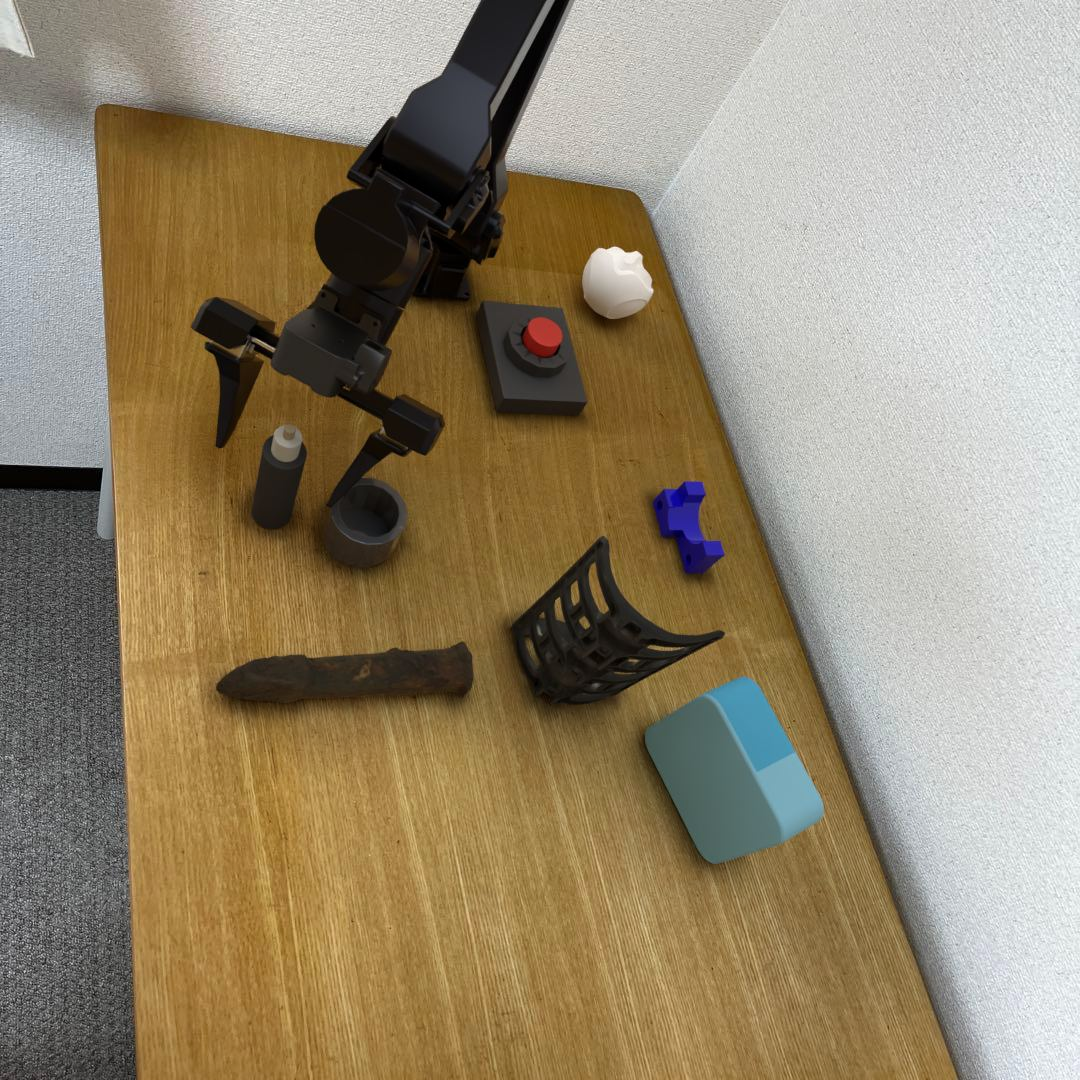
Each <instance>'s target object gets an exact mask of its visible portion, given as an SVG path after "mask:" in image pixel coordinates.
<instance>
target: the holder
mask: <svg viewBox="0 0 1080 1080" xmlns="http://www.w3.org/2000/svg"><path fill="white" fill-rule="evenodd" d="M610 549H611V546H610V540H609V539H608V538H607V537H606V536H605V535H601V536H599V537H598V538H597V539H596V540H595V542H593V543H592V544H591V546H589V548H588V549H587V550H586V551H585V552H584V553H583V554H582V555H581V556H580V557H579V558H578V559H577V560H576V561H575V562H574V563H573V564H572V565H571V566H570V567H569V568H568V569H567V570H566V571H565V572H564V573H563V574H562V576H560V577H559V578H558V579H557V580H556V581H555V582H554V583H553V584H552V585H551V586H550V587H549V588H548V589H547V590H546V591H545V592H544V593H543V594H541V596H540V597H539V598H538V599H537V600H536V601H535V602H534V603H533V604H532V605H530V607H528V608H527V609H526V611H524V612H523V613H522V614H521V615H520V616H519V617H518V618H517V619H516V620H515V621H514V622H512V624H511V625H510V627H509V628H510V630H511V632H512V635H513V640H514V641H513V643H514V648H515V649H514V650H515V653H516V656H517V660H518V662H519V665H520V667H521V669H522V672H523V673H524V675H525V677H526V678H527V680H528V681H529V683H530V684H531V691H532V693H533V697H534V698H538V696H539V695H541V694H542V693H545V694H546V695H548V696H549V700H548V702H547V705H548V707H552V706H556V705H559V704H564V705H565V704H566V705H569V706H576V705H577V706H581V705H582V706H583V705H590V704H593V703H597V702H599V701H602V700H604V699H607V698H608V697H610V696H617V695H619V694H620V693H622V692H624V691H626V690H627V689H629V688H631V687H633V686H635V685H636V684H638V683H640V682H641V681H643V680H646V679H647V678H649V677H651V676H653V675H654V674H657V673H659V672H660V671H662V670H664V669H666V668H669V667H670V666H672V665H674V664H676V663H678V662H680V661H682V660H683V659H685V658H687V657H689V656H691V655H693V654H695V653H697V652H698V651H701V650H702V649H704V648H706V647H709V646H710V645H712V644H714V643H717V642H718V641H720V640H722V639H723V638H724V637H725V635H726V632H725V631H724V630H721V629H716V630H713V631H709V632H706V633H703V634H702V633H701V634H680V633H679V634H678V633H674V632H670V631H669V630H666V629H664V628H662V627H660V626H658V625H657V624H656V623H654V622H653V621H651V620H649V619H648V618H646V617H645V616H644V615H642V613H640V612H639V611H638V610H637V609H636V608H635V607H634V606H633V605H632V604H631V603H630V602H629V601H628V600H627V599H626V598H625V596H624V595H623V593H622V592H621V590H620V588H619V586H618V584H617V582H616V579H615V577H614V574H613V571H612V565H611V556H610V555H611V553H610V552H611V551H610ZM592 565H595V569H596V577H597V581H598V584H599V587H600V591H601V593H602V594H601V595H602V596H603V600H604V603H605V605H606V606H607V608H608V610H607V611H606V612H605V613H604V612H602V611H600V609H599V607H598V605H597V603H596V601H595V598H594V596H593V593H592V589H591V584H590V571H591V570H590V569H591V567H592ZM575 583H577V590H578V591H577V592H578V597H579V598H578V602H577V603H576V604H574V603H573V599H572V585H574V584H575ZM558 599H560V608H561V613H562V617H563V620H564V621H562V620H559V619H557V617H556V609H555V607H556V601H557V600H558ZM542 614H543V615H544V617H541V615H542ZM582 618H585V619H586V620H587V622H588V624H589V626H588V627H587V628H585V627H584V626H583V625H582V623H581V622H580V620H581V619H582ZM526 637H530V641H531V643H532V647H533V649H534V652H535V656H536V657H537V659H538V661H539V663H540V665H539V666H538V665H536V662H535V661H534V659H533V658H532V656H531V653H530V651H529V649H528V647H527V642H526ZM651 646H652V647H653V646H654V647H661V648H673V649H672V650H659V649H655V648H650V647H651ZM674 648H676V649H674ZM630 660H635V661H630Z"/></svg>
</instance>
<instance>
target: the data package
mask: <svg viewBox="0 0 1080 1080" xmlns="http://www.w3.org/2000/svg"><path fill="white" fill-rule="evenodd" d="M644 743H645V747H646V749H647V752H648V753H649V755H650V758H651V760H652V761H653V763H654V766H655V768H656V770H657V771H658V774H659V775H660V777H661V780H662V781H663V784H664V786H665V787H666V790H667V791H668V793H669V796H670V797H671V799H672V801H673V803H674V805H675V807H676V809H677V811H678V814H679V815H680V818H681V819H682V821H683V823H684V825H685V828H686V829H687V831H688V833H689V835H690V837H691V839H692V842H693V844H694V846H695V847H696V849H697V852H699V854H700V855H701V857H703V859H704V860H705V861H707V862H708V863H710V864H713V865H718V864H721V863H725V862H728V861H731V860H735V859H738V858H741V857H744V856H748V855H750V854H754V853H757V852H761V851H763V850H766V849H767V850H768V849H770V848H773V847H777V846H780V845H782V844H784V843H786V842H787V841H789V840H791V839H792V838H794V837H795V836H797V835H799V834H801V833H802V832H805V830H808V829H809V828H811V827H812V826H814V825H817V823H819V822H821V820H822V819H823V818H824V813H825V812H824V811H825V807H824V806H825V805H824V802H823V799H822V797H821V794H820V793H819V791H818V789H817V788H816V786H815V784H814V782H813V780H812V778H811V777H810V775H809V773H808V772H807V770H806V768H805V766H804V764H803V762H802V761H801V759H800V757H799V755H798V753H797V752H796V750H795V748H794V746H793V744H792V743H791V741H790V739H789V737H788V735H787V734H786V732H785V730H784V728H783V726H782V724H781V723H780V721H779V719H778V718H777V715H776V714H775V712H774V710H773V708H772V707H771V705H770V703H769V701H768V699H767V697H766V696H765V694H764V691H763V690H762V689H761V687H760V685H759V684H758V683H757V682H756V681H755V680H753V679H752V678H750V677H747V676H739V677H737V678H735V679H732V680H730V681H728V682H726V683H723V684H721V685H719V686H717V687H714V688H712V689H709V690H708V691H706V692H703V693H701V694H699V695H697V696H696V697H694V698H693V699H691V700H690V701H688V702H686V703H685V704H684V705H683V704H682V706H680V707H678V708H676V710H674V711H673V712H671V713H669V714H667V715H666V716H664V717H662V718H661V719H660V720H657V721H656V722H655V723H653V724H652V725H650V726H649V727H647V728H646V730H645V733H644Z"/></svg>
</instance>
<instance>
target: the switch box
mask: <svg viewBox="0 0 1080 1080" xmlns="http://www.w3.org/2000/svg"><path fill="white" fill-rule="evenodd" d="M564 311H565V310H564V308H563V307H554V306H544V305H535V304H523V303H513V302H502V301H493V300H492V301H490V300H482V301H481V304H480V305H479V308H478V310H477V312H476V315H475V319H476V323H477V328H478V333H479V337H480V341H481V347H482V350H483V351H482V352H483V355H484V361H485V366H486V369H487V374H488V379H489V385H490V388H491V393H492V396H493V397H492V398H493V403H494V407H495V412H496V413H507V414H531V415H551V416H552V415H556V416H580V415H581V413H582V412H583V410H584V409H585V407H586V406H587V404H588V402H589V401H588V397H587V394H586V390H585V387H584V383H583V379H582V375H581V371H580V368H579V363H578V361H577V355H576V353H575V348H574V344H573V342H572V338H571V334H570V329H569V327H568V322H567V319H566V314H565V312H564ZM538 317H542V318H547V319H549V320H551V321H553V322H554V323H555V324H557V325H558V327H559V328H560V330H561V332H562V341H561V343H560V344H559V346H558V348H557V350H556V351H555V353H554V354H553V355H551V356H549V357H538V356H536V355H534V354H532V353H530V352H529V351H528V350H527V349H526V347H525V346H524V344H523V340H522V337H523V334H524V332H525V330H526V328H527V326H528V324H529V322H530V321H531V320H532V319H534V318H538Z"/></svg>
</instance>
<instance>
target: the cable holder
mask: <svg viewBox="0 0 1080 1080" xmlns="http://www.w3.org/2000/svg"><path fill="white" fill-rule="evenodd" d="M706 496H707V493H706V489H705V486H704V483H703V481H688V480H687V481H683V482H682V483H681V485H680V486H679V487H678V488H663V490H662V491H660V492H659V494H658V495H657V496H655V498H654V499H653V500H652V505H653V509H654V512H655V516H656V519H657V522H658V527H659V530H660V534H661V537H662V538H675V540H676V543H677V544H676V545H677V547H678V550H679V551H678V552H679V554H680V557H681V561H682V564H683V568H684V571H685V574H692V575H693V574H705V573H706V572H707V571H708V570H709V569H710V568H711V567H713V566H714V565H715V564H717V562H718V561H720V560H721V559H722V558H724V557H725V552H724V548H723V545H722V541H721V540H706V539H705V537H704V535H703V533H702V530H701V527H700V521H699V519H700V517H699V515H700V508H701V506H702V502H703V500H704V498H705V497H706Z"/></svg>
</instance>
